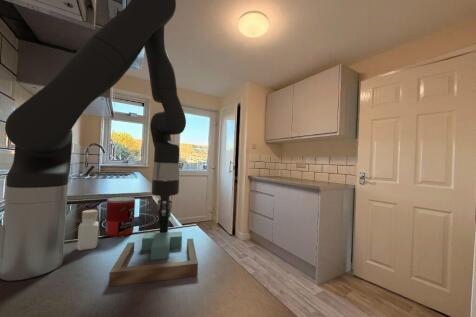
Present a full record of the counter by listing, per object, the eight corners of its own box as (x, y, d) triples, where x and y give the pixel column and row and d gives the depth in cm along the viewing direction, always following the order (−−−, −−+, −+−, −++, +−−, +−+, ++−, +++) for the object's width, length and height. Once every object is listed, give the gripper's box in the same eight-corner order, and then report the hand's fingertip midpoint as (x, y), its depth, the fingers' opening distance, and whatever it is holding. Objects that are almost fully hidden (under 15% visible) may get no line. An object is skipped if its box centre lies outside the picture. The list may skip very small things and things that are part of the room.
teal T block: (136, 260, 47) (137, 247, 47) (144, 244, 57) (145, 233, 57) (181, 257, 50) (181, 244, 50) (181, 242, 59) (182, 231, 59)
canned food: (121, 239, 60) (123, 201, 60) (98, 236, 61) (100, 199, 62) (138, 231, 67) (140, 197, 68) (118, 228, 69) (120, 196, 69)
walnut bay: (108, 286, 37) (109, 272, 37) (127, 252, 51) (127, 242, 51) (197, 275, 42) (197, 263, 42) (192, 247, 56) (192, 238, 56)
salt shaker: (97, 243, 56) (99, 208, 56) (96, 249, 53) (98, 212, 53) (79, 245, 54) (81, 209, 54) (76, 251, 51) (79, 213, 51)
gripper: (154, 176, 65) (152, 230, 65) (149, 180, 53) (146, 247, 52) (178, 176, 68) (176, 229, 67) (179, 180, 55) (177, 245, 55)
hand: (163, 237), depth 60 cm, fingers closed
